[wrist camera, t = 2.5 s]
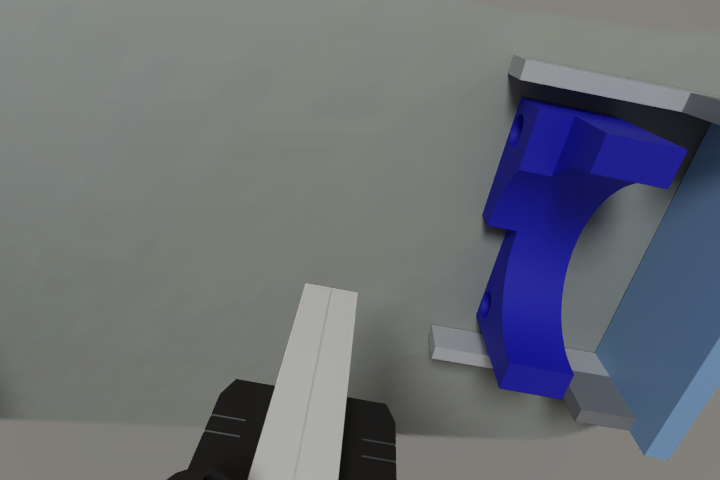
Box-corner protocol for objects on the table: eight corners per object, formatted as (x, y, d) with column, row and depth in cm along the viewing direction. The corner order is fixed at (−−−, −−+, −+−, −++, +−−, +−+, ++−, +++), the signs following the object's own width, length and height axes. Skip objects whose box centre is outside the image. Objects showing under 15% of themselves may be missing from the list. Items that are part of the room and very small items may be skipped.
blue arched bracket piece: (520, 96, 22) (565, 124, 17) (613, 115, 22) (687, 149, 17) (450, 308, 27) (467, 382, 22) (526, 322, 28) (561, 399, 22)
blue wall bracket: (428, 335, 28) (441, 422, 22) (513, 55, 21) (564, 73, 15) (609, 366, 28) (668, 459, 23) (749, 102, 22) (885, 137, 16)
